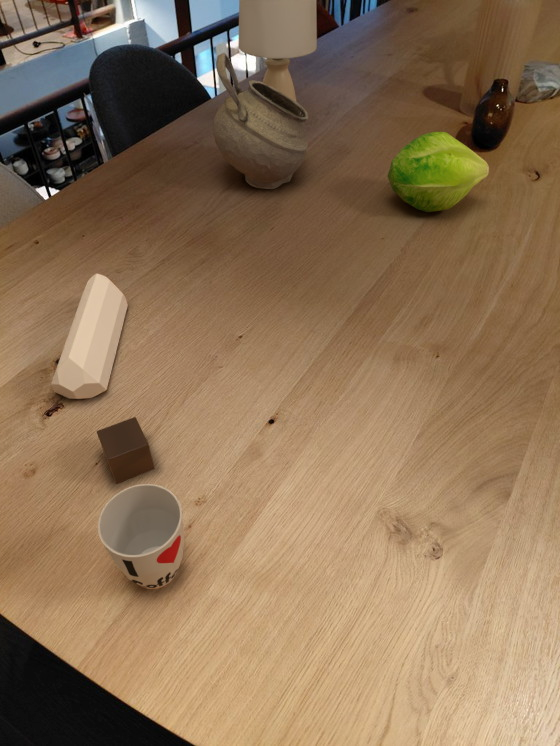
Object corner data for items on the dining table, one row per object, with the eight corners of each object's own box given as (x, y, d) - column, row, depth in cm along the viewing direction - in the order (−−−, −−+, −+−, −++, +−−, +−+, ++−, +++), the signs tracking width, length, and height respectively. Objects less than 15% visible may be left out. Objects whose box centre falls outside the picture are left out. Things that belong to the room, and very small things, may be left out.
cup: (125, 614, 59) (105, 569, 52) (111, 547, 64) (91, 498, 57) (201, 586, 61) (191, 539, 54) (181, 523, 66) (170, 473, 59)
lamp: (314, 118, 155) (322, -50, 129) (310, 146, 142) (318, -34, 116) (247, 115, 156) (241, -52, 130) (236, 142, 143) (228, -36, 117)
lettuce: (489, 221, 117) (501, 166, 105) (390, 231, 119) (391, 179, 108) (477, 172, 124) (487, 117, 113) (384, 183, 127) (384, 130, 115)
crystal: (69, 282, 93) (29, 387, 76) (102, 263, 91) (68, 366, 74) (100, 312, 98) (69, 417, 81) (133, 295, 96) (107, 399, 79)
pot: (200, 189, 125) (187, 65, 107) (240, 153, 139) (235, 37, 121) (286, 208, 119) (288, 80, 102) (320, 168, 133) (326, 49, 115)
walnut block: (116, 484, 70) (107, 460, 67) (104, 455, 73) (96, 430, 70) (154, 468, 72) (148, 444, 68) (142, 441, 75) (135, 416, 72)
